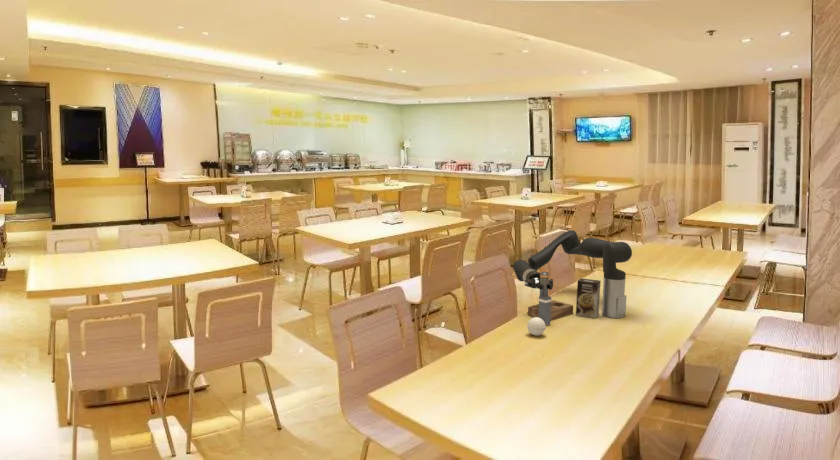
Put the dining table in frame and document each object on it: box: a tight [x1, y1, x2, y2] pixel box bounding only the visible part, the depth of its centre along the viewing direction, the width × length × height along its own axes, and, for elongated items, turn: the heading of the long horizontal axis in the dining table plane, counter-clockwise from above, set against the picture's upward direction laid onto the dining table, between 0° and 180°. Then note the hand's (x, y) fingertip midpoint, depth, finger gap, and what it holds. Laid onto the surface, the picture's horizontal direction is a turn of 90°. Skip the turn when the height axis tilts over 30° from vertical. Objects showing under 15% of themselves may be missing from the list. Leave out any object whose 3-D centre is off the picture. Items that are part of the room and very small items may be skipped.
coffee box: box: [575, 277, 601, 319], centre depth 268 cm, size 9×6×16 cm
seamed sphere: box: [526, 317, 548, 337], centre depth 242 cm, size 10×7×7 cm
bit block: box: [527, 299, 574, 321], centre depth 270 cm, size 11×18×4 cm, turn 129°
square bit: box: [538, 295, 552, 327], centre depth 256 cm, size 4×4×12 cm
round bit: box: [539, 271, 550, 296], centre depth 266 cm, size 4×4×14 cm
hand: (546, 287), depth 263 cm, fingers closed on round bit, 3 cm apart
